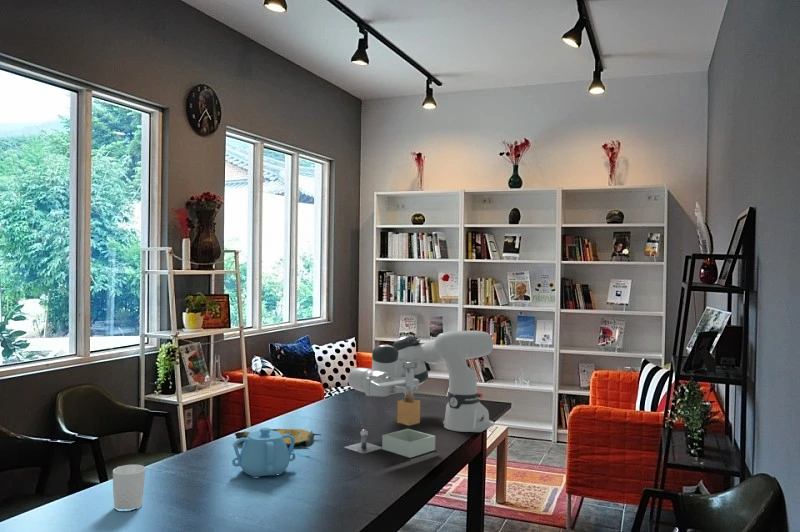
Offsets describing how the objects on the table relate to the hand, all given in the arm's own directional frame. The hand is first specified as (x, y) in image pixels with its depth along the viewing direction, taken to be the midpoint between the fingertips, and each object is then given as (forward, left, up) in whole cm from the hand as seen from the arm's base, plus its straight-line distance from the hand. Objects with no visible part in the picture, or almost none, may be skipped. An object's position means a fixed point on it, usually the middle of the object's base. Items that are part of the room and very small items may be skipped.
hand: (411, 389), depth 220 cm
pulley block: (+27, -39, -23) cm, 53 cm away
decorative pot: (+48, -18, -22) cm, 56 cm away
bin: (0, -1, -22) cm, 22 cm away
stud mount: (+10, -13, -22) cm, 27 cm away
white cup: (+90, -19, -22) cm, 94 cm away
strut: (0, -1, -12) cm, 12 cm away
